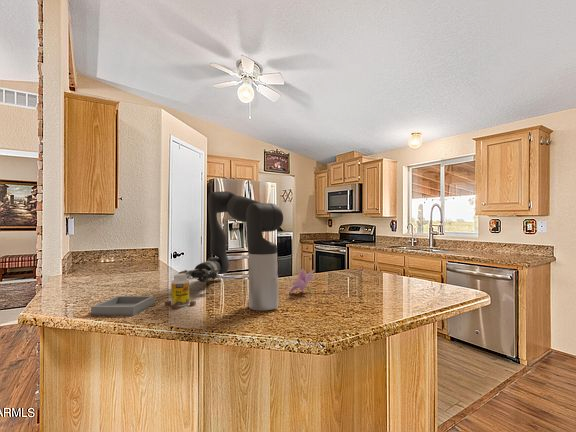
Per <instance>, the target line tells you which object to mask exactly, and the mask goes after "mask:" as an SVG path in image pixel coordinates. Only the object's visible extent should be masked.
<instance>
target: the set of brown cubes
mask: <svg viewBox="0 0 576 432" xmlns="http://www.w3.org/2000/svg"><path fill="white" fill-rule="evenodd" d="M196 303H197V301H196V300H191V301H189V307H195V306H196ZM164 306H165V307H169V306H170V309H171V310H179V309H180V307H179V304H173V305H172V304H171V300H166V301H165V302H164Z"/></svg>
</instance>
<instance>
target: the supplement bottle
mask: <svg viewBox="0 0 576 432" xmlns="http://www.w3.org/2000/svg"><path fill="white" fill-rule="evenodd" d="M186 277H187V274H185V273H180V274H179V273H175V274H174V275H173V280H171V282H170V283H171V285H170V286H171V292H170V293H171V295H170V296H171V300H170V301H171V305H173V304H179V308H181V307H182V308H183V307H186V306H189V305H190V280H189V279H187V278H186Z"/></svg>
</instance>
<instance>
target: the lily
mask: <svg viewBox="0 0 576 432" xmlns="http://www.w3.org/2000/svg"><path fill="white" fill-rule="evenodd" d="M314 271H315V269H312V270H311V271H309V272H308V273H307V271H306V270H305V269H304V268H302V269H300V270H299V273H298V276H297V279H296V280H294V281H293V282H291V284H290V285H291V286H292V287H291V289H290V290H289V292H288V294H289V295H290V294H291V293H293V292H295V290H298V289H299V290H300V291H301V292H304V290H305V288H307V290H308V292H309V295H310V296H313V295H312V292H311V290H310V288H309V286H308V283H309V282H311V281H313V280H314V279H315V277H314V276H313V273H314Z"/></svg>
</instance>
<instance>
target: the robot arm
mask: <svg viewBox="0 0 576 432" xmlns="http://www.w3.org/2000/svg"><path fill="white" fill-rule="evenodd" d="M207 210H208V219H209V229H210V253H211V255H213V256H210V257H208V259H207V260H206V261H204V262H201V263H199V264H197V265H196V266H195V267H194V269H191V270H187V269H184V270H182V271H179V272H178V274H180V273H185V274H187V277H186V278H187V279H188V280H189V281H190V280H197V281H198V282H201V283H204V282H208V281H209V280H216V279H217V278H218V277H219V274H222V275H223V274H226V273H227V272H228V271H229V269H230V262H229V258H228V255H227V254H228V253H227V235H226V233H225V231H224V230H223V228H222V226H221V225H220V223H219V220H218V214H219V213H220V214H221V213H228V215H229V217H231V218H232V219H235V220H236V221H239V222H242V223H246V226H245V227H246V240H247V241H246V242H247V249H248V308H249V309H250V310H251V311H260V312H261V311H263V312H264V311H271V310H277V309H278V306H279V301H280V300H279V275H278V245H277V244H276V243H275V242H272V241H269V240H267V239H265V237H264V236H263V233H266V232H269V233H270V232H275V231H277V230H279V229H280V228H281V226H282V225H283V222H284V213H283V211H282V209H281V208H280V206H278V205H277V204H276V203H270V202H269V203H267V202H266V203H264V202H261V201H257V200H255V199H252V198H249V197H246V196H243V195H236V194H235V193H233V192H231V191H227V190H225V191H224V190H223V191H211V192H210V193H209V194H208V197H207Z"/></svg>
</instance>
